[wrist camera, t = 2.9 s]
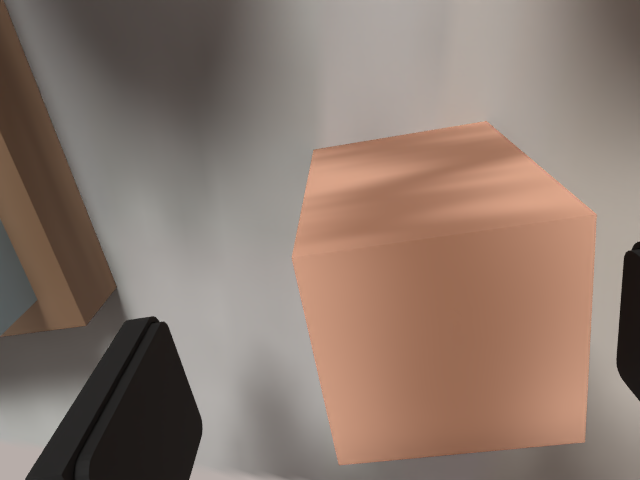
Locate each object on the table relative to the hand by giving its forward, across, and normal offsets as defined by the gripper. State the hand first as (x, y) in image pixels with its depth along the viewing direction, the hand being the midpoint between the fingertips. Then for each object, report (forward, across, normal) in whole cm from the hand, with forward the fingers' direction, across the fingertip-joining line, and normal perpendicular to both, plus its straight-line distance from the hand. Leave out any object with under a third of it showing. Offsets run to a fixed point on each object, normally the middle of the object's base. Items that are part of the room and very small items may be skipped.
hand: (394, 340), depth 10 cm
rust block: (+6, -1, 0) cm, 6 cm away
